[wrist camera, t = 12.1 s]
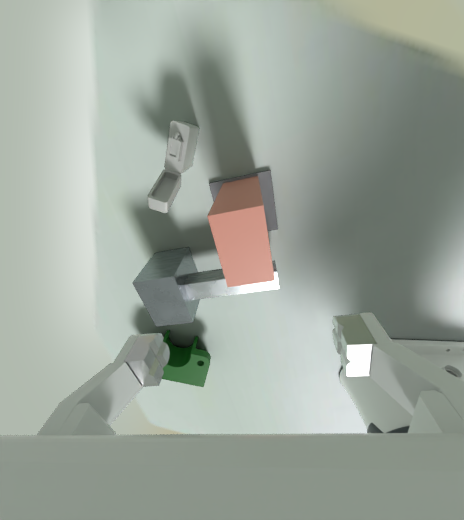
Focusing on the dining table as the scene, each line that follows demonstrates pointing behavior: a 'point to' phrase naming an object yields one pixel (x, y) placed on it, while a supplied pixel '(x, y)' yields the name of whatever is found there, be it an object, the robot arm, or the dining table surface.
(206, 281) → the vise
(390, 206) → the dining table surface
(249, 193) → the tall salmon pink brick
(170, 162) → the lighter
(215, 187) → the mat
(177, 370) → the clamp
